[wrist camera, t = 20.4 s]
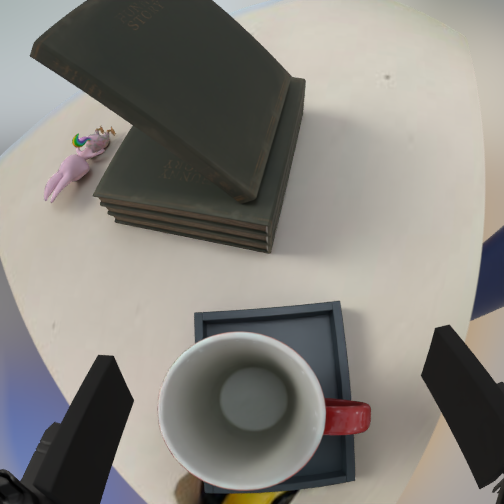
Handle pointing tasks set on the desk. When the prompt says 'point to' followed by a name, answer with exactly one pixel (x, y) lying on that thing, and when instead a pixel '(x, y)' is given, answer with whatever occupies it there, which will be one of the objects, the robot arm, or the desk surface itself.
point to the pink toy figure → (77, 162)
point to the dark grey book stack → (184, 115)
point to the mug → (248, 411)
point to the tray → (322, 363)
